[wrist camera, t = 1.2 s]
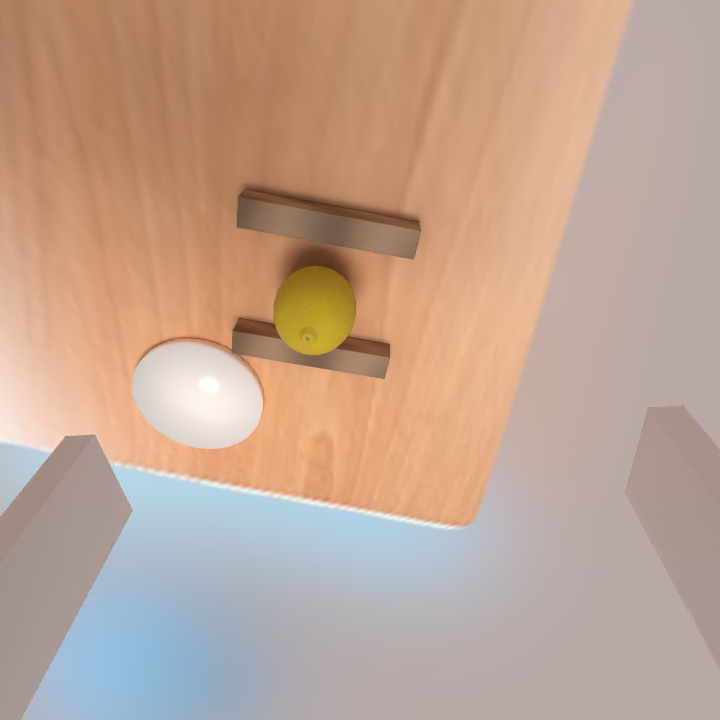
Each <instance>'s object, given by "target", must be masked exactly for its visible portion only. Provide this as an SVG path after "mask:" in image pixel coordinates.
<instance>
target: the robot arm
mask: <svg viewBox="0 0 720 720" xmlns="http://www.w3.org/2000/svg"><path fill="white" fill-rule="evenodd" d="M625 494H626V496H627V498H628V500H629V502H630V503H631V505H632V507H633V509H634V511H635V513H636V514H637V516H638V518H639V520H640V522H641V524H642V526H643V528H644V529H645V531H646V533H647V535H648V537H649V539H650V541H651V542H652V544H653V546H654V548H655V550H656V552H657V554H658V556H659V557H660V559H661V561H662V563H663V565H664V567H665V569H666V570H667V572H668V574H669V576H670V578H671V580H672V581H673V583H674V585H675V587H676V589H677V591H678V593H679V595H680V596H681V598H682V600H683V602H684V604H685V606H686V608H687V610H688V611H689V613H690V615H691V617H692V619H693V621H694V622H695V624H696V626H697V628H698V630H699V632H700V634H701V635H702V637H703V639H704V641H705V643H706V645H707V647H708V649H709V650H710V652H711V654H712V656H713V658H714V660H715V662H716V664H717V665H718V667H719V669H720V449H719V448H718V447H717V446H716V444H715V443H714V442H713V441H712V439H711V438H710V437H709V436H708V435H707V433H706V432H705V431H704V430H703V429H702V427H701V426H700V425H699V424H698V423H697V421H696V420H695V419H694V418H693V417H692V415H691V414H690V413H689V412H688V411H687V409H686V408H685V407H684V406H668V407H648V409H647V413H646V416H645V420H644V424H643V428H642V431H641V435H640V439H639V442H638V446H637V450H636V453H635V457H634V461H633V464H632V468H631V472H630V476H629V479H628V483H627V487H626V490H625ZM131 512H132V508H131V506H130V504H129V502H128V500H127V498H126V496H125V494H124V492H123V491H122V488H121V487H120V484H119V482H118V480H117V478H116V477H115V474H114V472H113V470H112V468H111V466H110V464H109V462H108V460H107V458H106V456H105V454H104V452H103V450H102V448H101V446H100V444H99V442H98V440H97V438H96V436H95V435H81V436H65V438H64V439H63V440H62V441H61V443H60V444H59V445H58V446H57V448H56V449H55V450H54V451H53V453H52V454H51V455H50V456H49V458H48V459H47V460H46V461H45V462H44V464H43V465H42V466H41V467H40V469H39V470H38V471H37V473H36V474H35V475H34V476H33V477H32V479H31V480H30V481H29V482H28V484H27V485H26V486H25V487H24V488H23V490H22V491H21V492H20V493H19V495H18V496H17V497H16V499H15V500H14V501H13V502H12V503H11V505H10V506H9V507H8V508H7V510H6V511H5V512H4V513H3V514H2V516H1V517H0V720H21V718H22V716H23V714H24V712H25V710H26V709H27V707H28V705H29V703H30V701H31V699H32V697H33V695H34V694H35V692H36V690H37V688H38V686H39V684H40V682H41V681H42V679H43V677H44V675H45V673H46V671H47V669H48V668H49V666H50V664H51V662H52V660H53V658H54V656H55V654H56V653H57V651H58V649H59V647H60V645H61V643H62V641H63V640H64V638H65V636H66V634H67V632H68V630H69V628H70V626H71V624H72V623H73V621H74V619H75V617H76V615H77V613H78V611H79V610H80V608H81V606H82V604H83V602H84V600H85V598H86V597H87V595H88V593H89V591H90V589H91V587H92V585H93V584H94V582H95V580H96V578H97V576H98V574H99V572H100V570H101V569H102V567H103V565H104V563H105V561H106V559H107V557H108V555H109V554H110V552H111V550H112V548H113V546H114V544H115V542H116V540H117V539H118V537H119V535H120V533H121V531H122V529H123V527H124V526H125V524H126V522H127V520H128V518H129V516H130V514H131Z"/></svg>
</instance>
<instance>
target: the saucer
mask: <svg viewBox="0 0 720 720" xmlns="http://www.w3.org/2000/svg"><path fill="white" fill-rule="evenodd" d="M132 394H133V398H134V401H135V404H136V406H137V408H138V410H139V411H140V413H141V414H142V416H143V417H144V418H145V420H146V421H147V422H148V423H149V424H150V425H151V426H152V427H153V428H155V429H156V430H157V431H158V432H160V433H161V434H163V435H164V436H166V437H168V438H170V439H172V440H174V441H176V442H179V443H181V444H184V445H187V446H191V447H196V448H204V449H215V448H223V447H228V446H231V445H234V444H236V443H239V442H241V441H242V440H244V439H245V438H247V437H248V436H249V435H250V434H251V433H252V432H253V431H254V430H255V428H256V426H257V425H258V423H259V420H260V417H261V414H262V411H263V407H264V393H263V388H262V385H261V383H260V380H259V378H258V376H257V375H256V373H255V372H254V370H253V369H252V368H251V367H250V366H249V364H248V363H247V362H246V361H245V360H243V359H242V358H241V357H240V356H239V355H237V354H233V353H232V351H231V350H229V349H228V348H226V347H224V346H222V345H219V344H217V343H214V342H211V341H207V340H202V339H195V338H180V339H173V340H169V341H166V342H164V343H161V344H159V345H157V346H156V347H154V348H153V349H151V350H150V351H149V352H148V353H147V354H146V355H145V356H144V357H143V359H142V360H141V361H140V363H139V364H138V366H137V367H136V369H135V371H134V374H133V378H132Z"/></svg>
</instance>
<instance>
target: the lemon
mask: <svg viewBox="0 0 720 720" xmlns="http://www.w3.org/2000/svg"><path fill="white" fill-rule="evenodd" d="M355 316H356V300H355V297H354V294H353V290H352V288H351V287H350V285H349V283H348V282H347V280H346V279H345V278H344V277H343V276H342V275H341V274H339V273H338V272H336V271H334V270H333V269H331V268H327V267H324V266H309V267H304V268H301V269H299V270H297V271H295V272H294V273H292V274H291V275H290V276H289V277H288V278H287V279H285V281H284V282H283V284H282V285H281V287H280V288H279V290H278V292H277V295H276V298H275V302H274V322H275V325H276V329H277V332H278V333H279V335H280V337H281V339H282V340H283V341H284V342H285V343H286V344H287V345H288V346H289V347H290V348H292V349H293V350H295V351H297V352H300V353H302V354H307V355H321V354H324V353H328V352H330V351H332V350H334V349H335V348H337V347H338V346H339V345H340V344H341V343H342V342H343V341H344V340H345V339H346V337H347V336H348V334H349V332H350V331H351V329H352V327H353V324H354V320H355Z"/></svg>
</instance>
